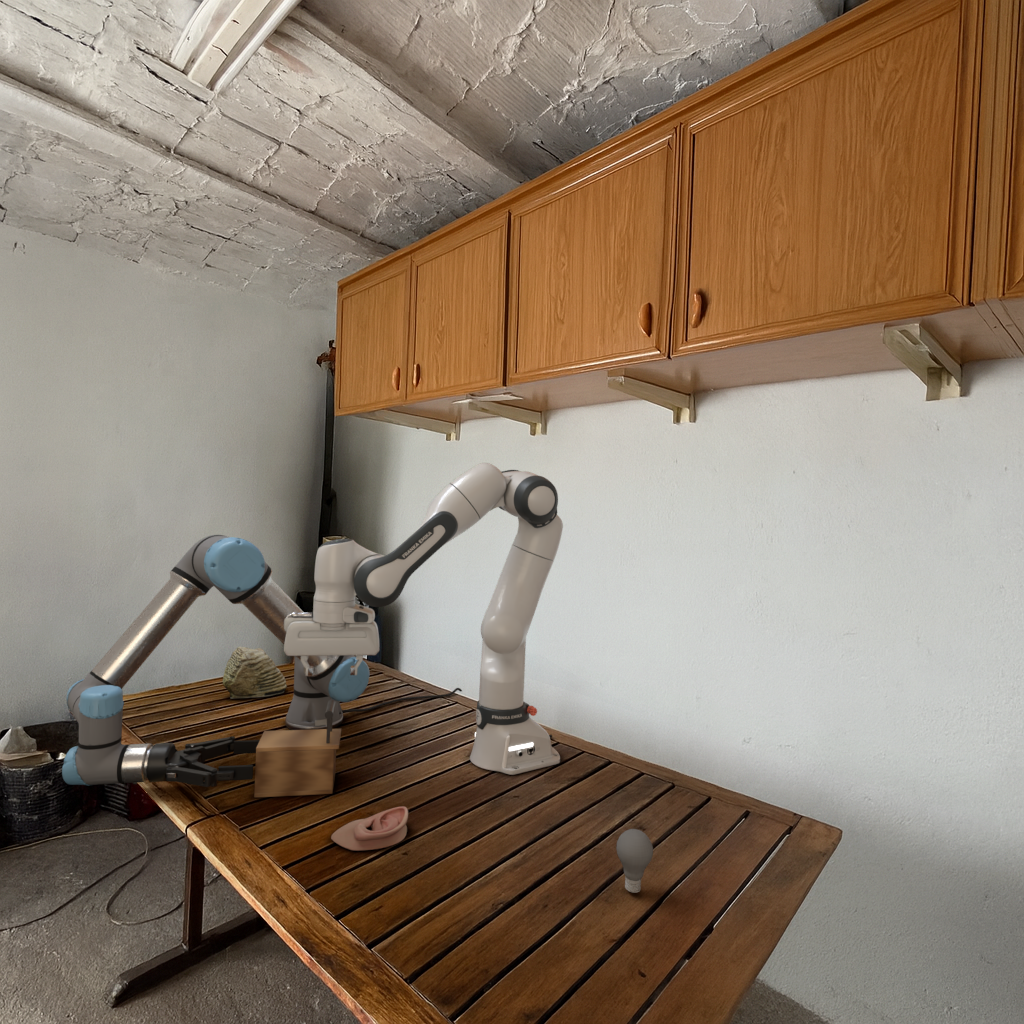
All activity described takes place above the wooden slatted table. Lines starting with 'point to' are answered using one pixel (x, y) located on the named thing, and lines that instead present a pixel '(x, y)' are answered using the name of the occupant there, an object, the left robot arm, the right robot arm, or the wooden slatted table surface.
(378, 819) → the anatomical model
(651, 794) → the wooden slatted table surface
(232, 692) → the fossil
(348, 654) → the right robot arm
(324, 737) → the lid
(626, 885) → the light bulb
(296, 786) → the chest
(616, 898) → the wooden slatted table surface
